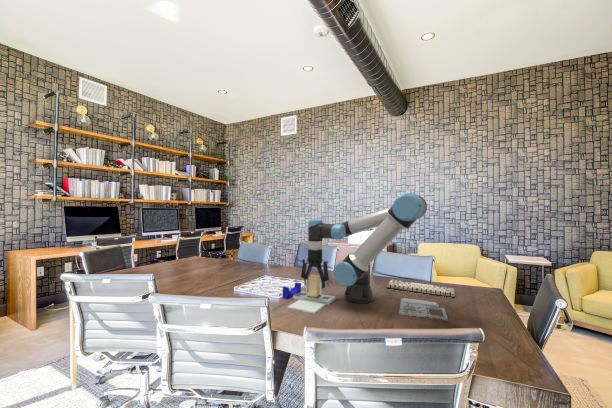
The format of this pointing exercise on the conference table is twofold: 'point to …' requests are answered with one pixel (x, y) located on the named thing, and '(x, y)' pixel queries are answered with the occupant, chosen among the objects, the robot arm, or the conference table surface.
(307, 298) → the grey plate with holes
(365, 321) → the conference table surface
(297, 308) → the sage pad
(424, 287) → the mechanical keyboard
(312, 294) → the tan rectangular block
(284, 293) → the cable clip
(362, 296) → the robot arm
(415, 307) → the grey flat slab
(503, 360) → the conference table surface
